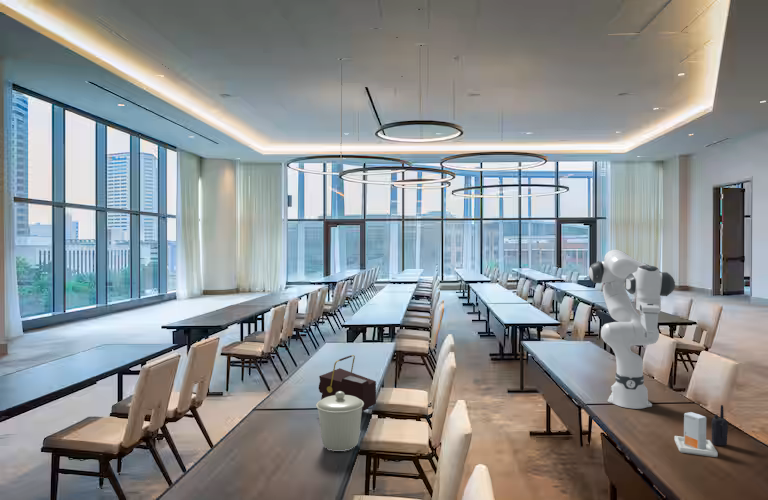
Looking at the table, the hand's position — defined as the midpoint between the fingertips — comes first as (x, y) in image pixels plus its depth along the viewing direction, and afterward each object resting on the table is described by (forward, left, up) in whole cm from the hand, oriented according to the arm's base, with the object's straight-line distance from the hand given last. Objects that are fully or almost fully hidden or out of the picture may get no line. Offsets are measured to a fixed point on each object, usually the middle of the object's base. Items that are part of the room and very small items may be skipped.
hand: (648, 339), depth 201 cm
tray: (+14, +14, -37) cm, 42 cm away
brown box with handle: (+24, -124, -37) cm, 132 cm away
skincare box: (+14, +14, -37) cm, 42 cm away
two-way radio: (+7, +23, -37) cm, 45 cm away
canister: (+59, -111, -37) cm, 131 cm away
